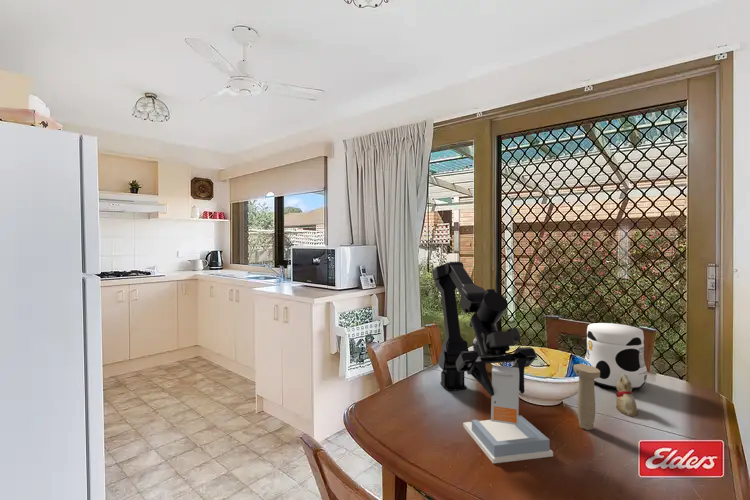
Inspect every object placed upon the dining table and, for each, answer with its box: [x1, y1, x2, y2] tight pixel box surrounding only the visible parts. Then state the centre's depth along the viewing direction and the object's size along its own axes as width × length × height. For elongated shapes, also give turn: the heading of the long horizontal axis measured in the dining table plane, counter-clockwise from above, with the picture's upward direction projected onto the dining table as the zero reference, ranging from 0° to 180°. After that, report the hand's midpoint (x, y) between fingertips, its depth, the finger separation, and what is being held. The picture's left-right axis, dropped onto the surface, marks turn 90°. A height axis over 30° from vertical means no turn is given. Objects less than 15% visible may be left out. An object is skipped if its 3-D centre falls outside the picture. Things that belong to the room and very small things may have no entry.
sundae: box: [470, 337, 488, 372], centre depth 136 cm, size 7×7×15 cm
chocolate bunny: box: [615, 375, 638, 417], centre depth 104 cm, size 6×8×10 cm
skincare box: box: [490, 364, 520, 425], centre depth 87 cm, size 6×4×12 cm
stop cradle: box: [462, 414, 554, 464], centre depth 89 cm, size 16×14×4 cm
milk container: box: [584, 322, 648, 390], centre depth 122 cm, size 17×17×18 cm
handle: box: [573, 363, 600, 431], centre depth 94 cm, size 5×6×15 cm
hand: (508, 394), depth 86 cm, fingers closed on skincare box, 7 cm apart
